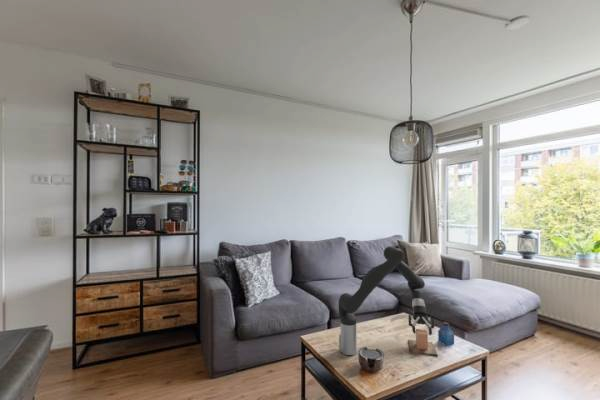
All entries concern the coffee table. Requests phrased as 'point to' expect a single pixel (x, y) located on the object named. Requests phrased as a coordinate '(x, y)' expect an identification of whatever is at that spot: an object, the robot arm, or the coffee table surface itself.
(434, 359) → the coffee table surface
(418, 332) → the salmon orange block
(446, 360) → the coffee table surface
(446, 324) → the perfume bottle
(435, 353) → the walnut post board
